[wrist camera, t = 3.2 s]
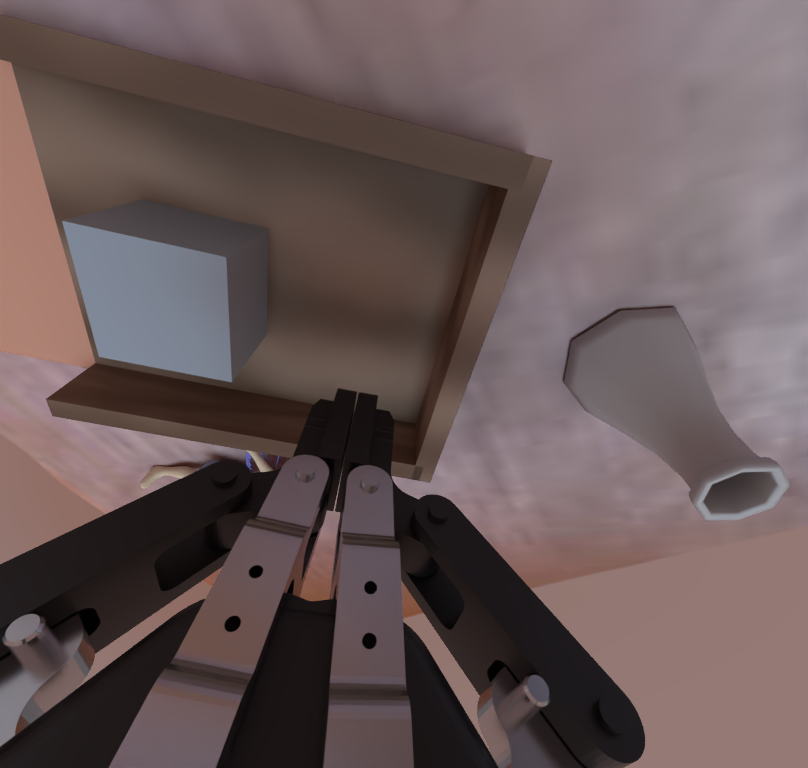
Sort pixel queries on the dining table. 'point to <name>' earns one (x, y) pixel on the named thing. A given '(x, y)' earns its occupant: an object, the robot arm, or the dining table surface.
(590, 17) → the dining table surface
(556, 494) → the dining table surface
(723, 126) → the dining table surface
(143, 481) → the fairy figurine
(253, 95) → the walnut cubby
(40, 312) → the terracotta mat
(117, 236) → the slate block
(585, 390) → the flask
